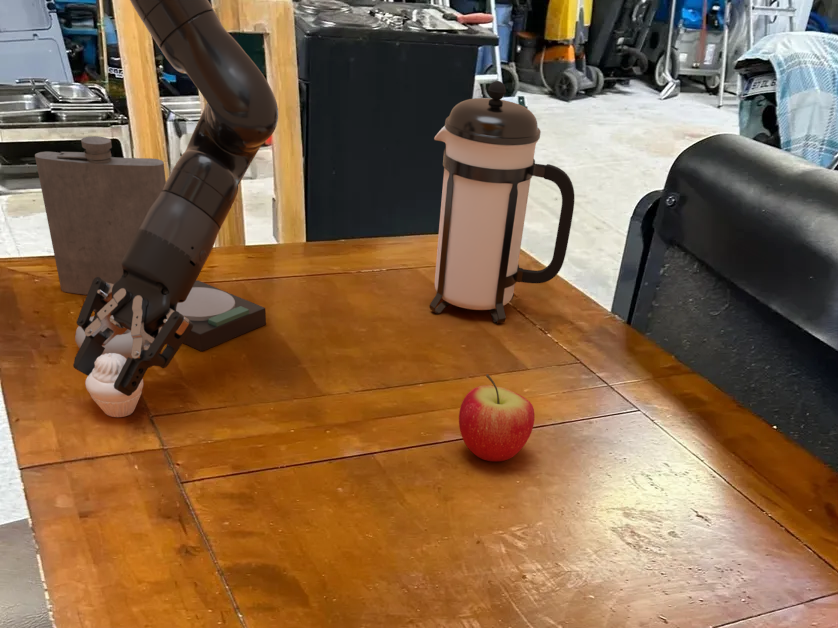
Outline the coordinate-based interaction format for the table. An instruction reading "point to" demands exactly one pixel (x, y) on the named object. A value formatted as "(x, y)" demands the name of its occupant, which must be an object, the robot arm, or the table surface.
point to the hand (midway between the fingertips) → (101, 381)
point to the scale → (218, 316)
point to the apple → (495, 422)
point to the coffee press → (490, 204)
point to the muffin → (111, 386)
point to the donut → (111, 342)
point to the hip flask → (95, 209)
